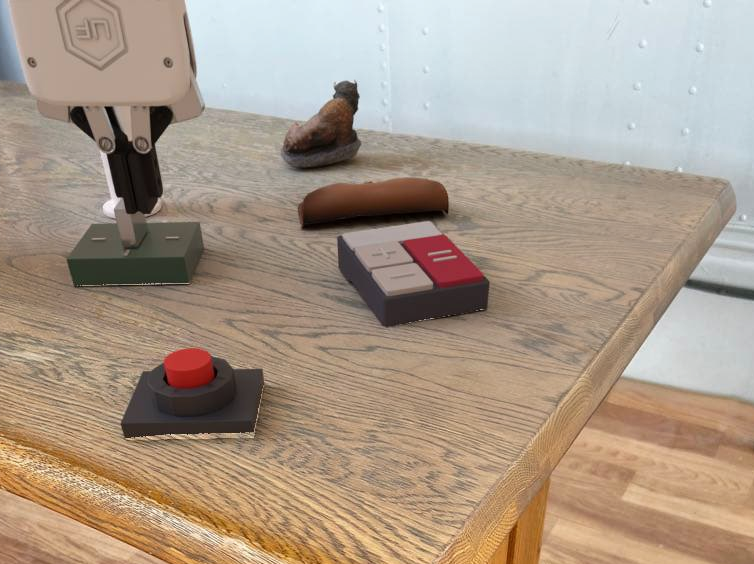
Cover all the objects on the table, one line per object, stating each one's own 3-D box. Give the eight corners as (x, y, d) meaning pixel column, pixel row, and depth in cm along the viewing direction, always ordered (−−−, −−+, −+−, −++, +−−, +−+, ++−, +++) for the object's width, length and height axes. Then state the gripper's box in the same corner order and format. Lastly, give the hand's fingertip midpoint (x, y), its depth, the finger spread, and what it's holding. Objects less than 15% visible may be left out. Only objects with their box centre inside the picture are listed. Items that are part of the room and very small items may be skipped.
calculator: (383, 292, 74) (335, 228, 84) (384, 334, 77) (337, 267, 87) (492, 274, 77) (432, 214, 87) (488, 315, 80) (431, 252, 90)
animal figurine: (292, 176, 111) (284, 95, 104) (274, 163, 115) (265, 84, 109) (370, 164, 115) (368, 84, 108) (350, 151, 119) (346, 74, 113)
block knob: (138, 247, 84) (128, 206, 81) (122, 248, 84) (112, 206, 81) (148, 230, 88) (139, 189, 85) (133, 230, 88) (124, 190, 85)
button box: (125, 441, 62) (114, 403, 60) (147, 388, 68) (137, 351, 66) (254, 439, 62) (248, 400, 60) (264, 386, 68) (259, 348, 66)
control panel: (74, 287, 84) (65, 257, 82) (98, 250, 91) (91, 222, 89) (189, 285, 84) (183, 255, 82) (204, 248, 92) (199, 220, 89)
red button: (164, 391, 62) (159, 371, 61) (172, 368, 65) (168, 348, 63) (210, 390, 62) (207, 370, 61) (217, 367, 65) (214, 347, 64)
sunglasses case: (432, 192, 104) (439, 152, 98) (443, 236, 102) (452, 199, 95) (293, 204, 101) (292, 163, 95) (302, 250, 99) (302, 212, 92)
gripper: (-90, -124, 42) (20, 227, 54) (196, -122, 43) (241, 227, 55) (-35, -130, 48) (53, 190, 60) (217, -128, 48) (253, 189, 60)
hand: (142, 207), depth 57 cm, fingers closed
